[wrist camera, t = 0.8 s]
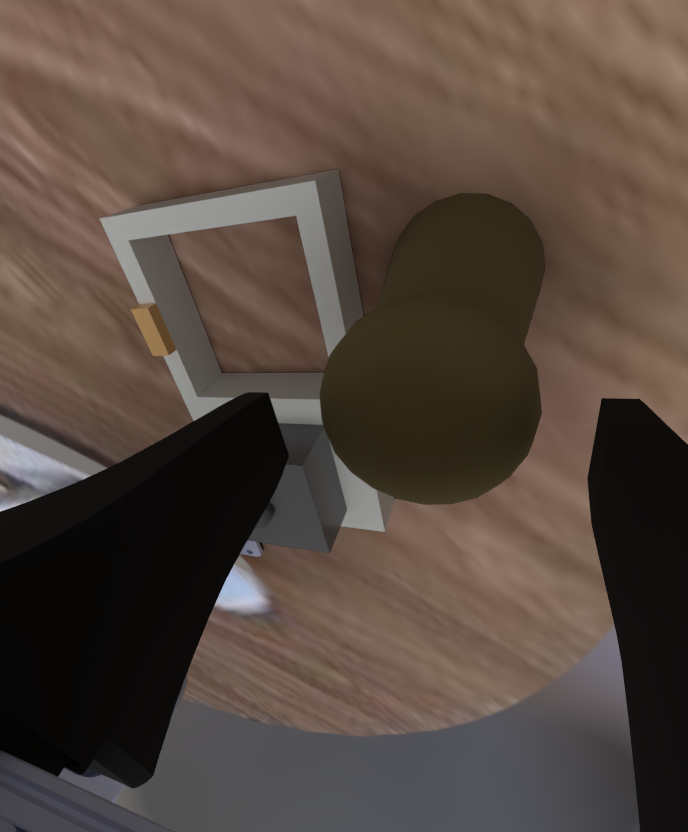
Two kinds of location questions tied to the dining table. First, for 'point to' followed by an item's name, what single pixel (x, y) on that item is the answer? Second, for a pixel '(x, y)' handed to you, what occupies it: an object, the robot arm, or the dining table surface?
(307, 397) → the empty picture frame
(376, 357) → the brown pear
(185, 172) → the dining table surface
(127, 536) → the robot arm
